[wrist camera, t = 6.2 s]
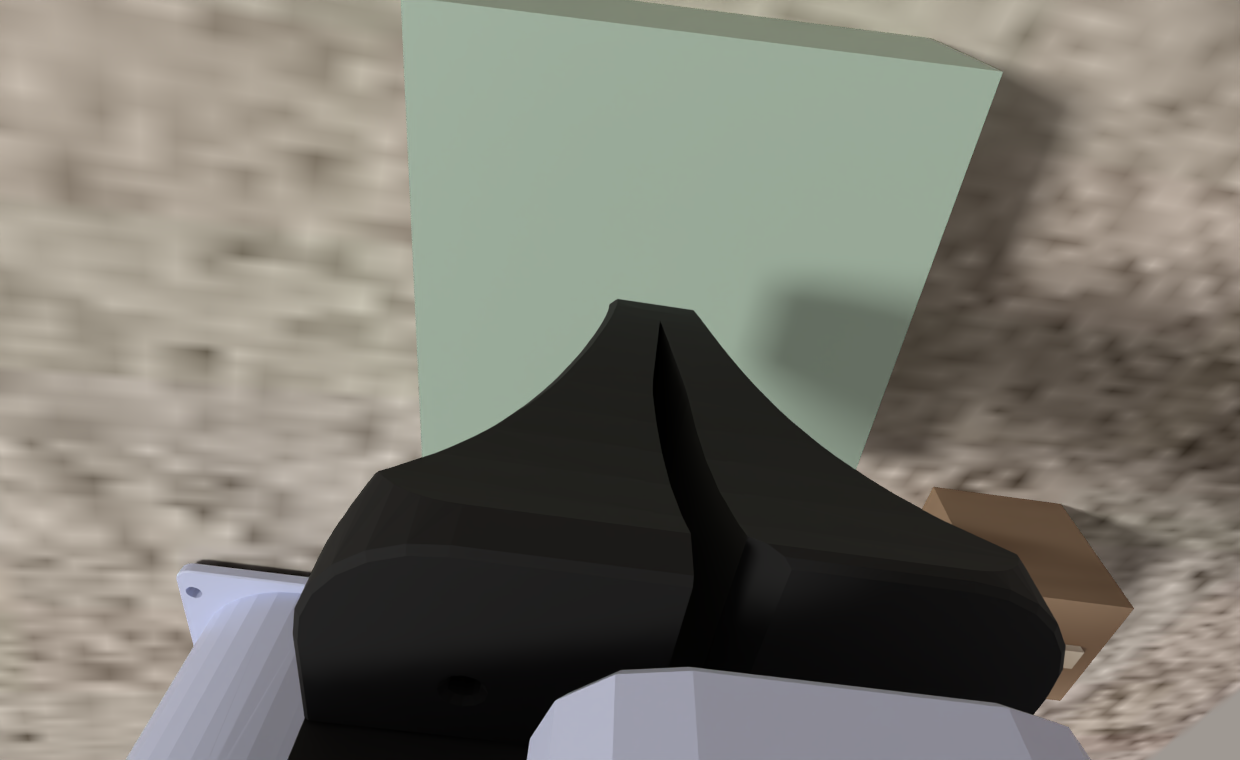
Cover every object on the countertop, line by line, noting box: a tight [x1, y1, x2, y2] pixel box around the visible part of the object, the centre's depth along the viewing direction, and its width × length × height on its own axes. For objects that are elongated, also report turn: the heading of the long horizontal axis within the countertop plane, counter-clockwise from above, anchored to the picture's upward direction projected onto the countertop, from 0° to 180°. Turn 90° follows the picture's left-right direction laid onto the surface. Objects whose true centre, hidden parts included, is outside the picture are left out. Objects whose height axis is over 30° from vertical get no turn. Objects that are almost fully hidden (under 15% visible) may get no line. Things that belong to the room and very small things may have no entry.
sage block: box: [401, 0, 1003, 470], centre depth 16 cm, size 10×10×4 cm
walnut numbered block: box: [922, 487, 1134, 701], centre depth 21 cm, size 4×4×4 cm
